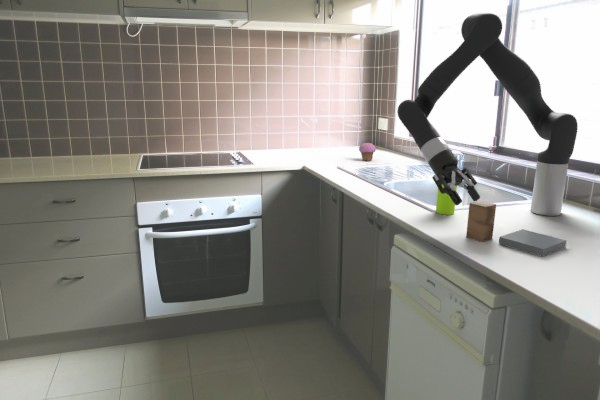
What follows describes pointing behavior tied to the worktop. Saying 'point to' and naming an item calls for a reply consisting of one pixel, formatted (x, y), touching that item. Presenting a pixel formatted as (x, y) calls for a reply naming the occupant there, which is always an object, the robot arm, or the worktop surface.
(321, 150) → the worktop surface
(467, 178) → the robot arm
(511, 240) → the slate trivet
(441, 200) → the soap dispenser
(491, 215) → the walnut block
